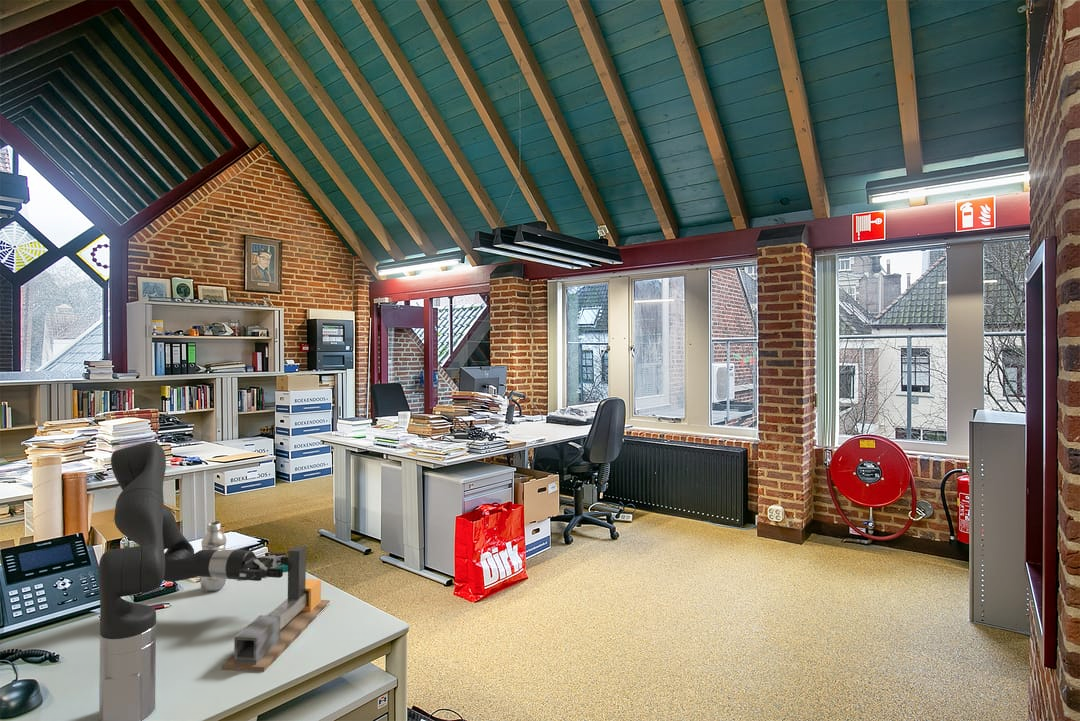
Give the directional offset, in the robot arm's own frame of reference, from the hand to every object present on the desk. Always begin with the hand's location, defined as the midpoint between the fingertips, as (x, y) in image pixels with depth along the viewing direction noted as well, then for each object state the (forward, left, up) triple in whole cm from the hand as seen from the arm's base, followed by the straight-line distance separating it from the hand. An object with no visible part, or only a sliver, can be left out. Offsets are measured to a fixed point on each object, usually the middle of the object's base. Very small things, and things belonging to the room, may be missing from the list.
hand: (290, 567), depth 161 cm
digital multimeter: (+38, +9, -15) cm, 42 cm away
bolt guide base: (-8, +1, -14) cm, 16 cm away
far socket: (+4, -4, -13) cm, 14 cm away
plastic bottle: (+27, +22, -14) cm, 38 cm away
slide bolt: (-5, 0, -11) cm, 12 cm away
